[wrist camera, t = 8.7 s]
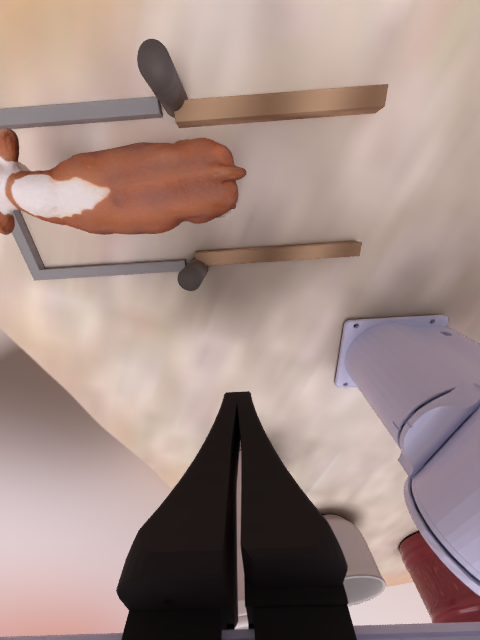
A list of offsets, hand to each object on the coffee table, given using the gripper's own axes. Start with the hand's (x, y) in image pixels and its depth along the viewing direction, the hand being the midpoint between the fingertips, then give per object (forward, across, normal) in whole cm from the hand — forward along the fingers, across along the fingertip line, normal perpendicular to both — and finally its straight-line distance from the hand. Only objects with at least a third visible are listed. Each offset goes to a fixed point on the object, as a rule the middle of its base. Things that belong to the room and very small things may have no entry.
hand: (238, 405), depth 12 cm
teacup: (+10, -12, +40) cm, 43 cm away
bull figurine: (+10, +6, -11) cm, 16 cm away
